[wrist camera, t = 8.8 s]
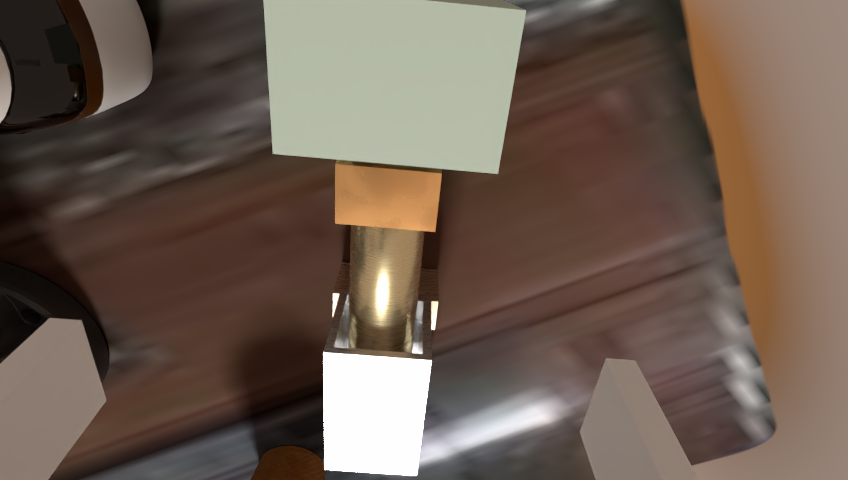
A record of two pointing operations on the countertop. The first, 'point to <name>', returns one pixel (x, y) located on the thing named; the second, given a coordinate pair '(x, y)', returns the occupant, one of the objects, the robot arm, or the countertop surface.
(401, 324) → the cylinder on square base
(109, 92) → the flanged pipe fitting
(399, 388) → the white blocky legged figure
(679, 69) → the countertop surface
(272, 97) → the socket block
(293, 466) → the disposable coffee cup
